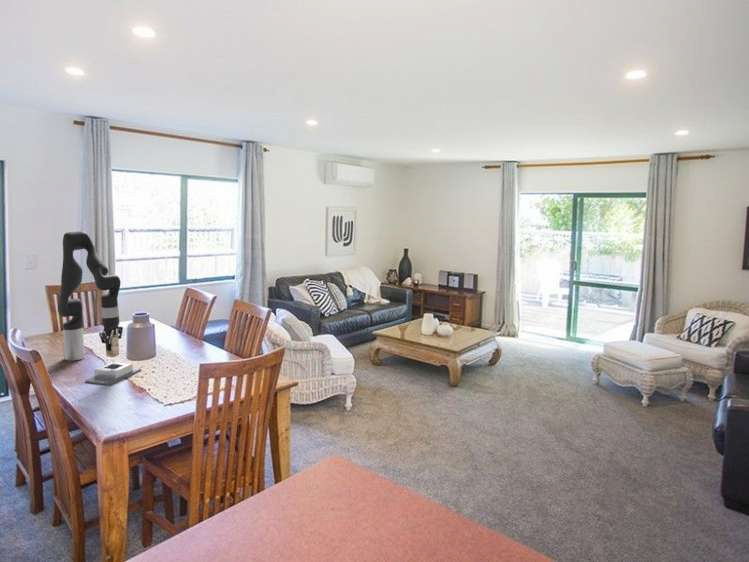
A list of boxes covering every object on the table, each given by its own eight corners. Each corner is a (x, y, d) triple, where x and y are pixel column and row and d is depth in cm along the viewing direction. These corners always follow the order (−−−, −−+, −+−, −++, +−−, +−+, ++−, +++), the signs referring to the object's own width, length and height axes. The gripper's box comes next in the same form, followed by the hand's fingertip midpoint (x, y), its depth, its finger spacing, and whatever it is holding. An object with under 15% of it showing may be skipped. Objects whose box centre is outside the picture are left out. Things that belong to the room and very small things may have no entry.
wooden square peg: (106, 356, 245) (105, 336, 243) (112, 354, 249) (111, 334, 247) (113, 357, 244) (112, 337, 242) (119, 354, 248) (118, 335, 246)
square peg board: (85, 382, 239) (84, 372, 238) (117, 367, 260) (117, 358, 259) (110, 385, 236) (109, 375, 235) (141, 370, 257) (140, 361, 256)
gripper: (114, 312, 251) (116, 345, 253) (92, 318, 237) (95, 352, 240) (127, 313, 249) (129, 346, 252) (106, 319, 235) (108, 354, 238)
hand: (112, 349), depth 246 cm, fingers closed on wooden square peg, 4 cm apart
